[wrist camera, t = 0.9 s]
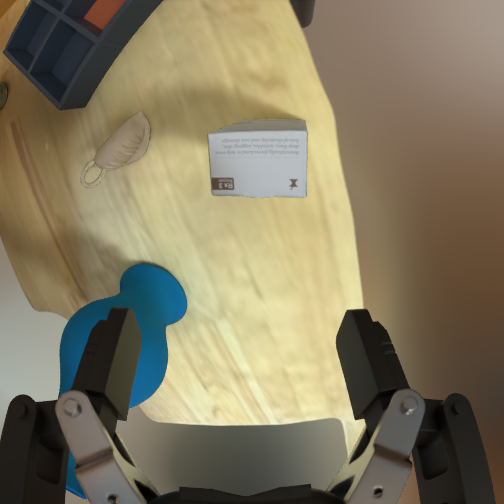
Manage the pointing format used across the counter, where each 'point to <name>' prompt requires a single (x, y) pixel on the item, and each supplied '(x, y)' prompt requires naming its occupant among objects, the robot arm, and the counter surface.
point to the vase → (151, 327)
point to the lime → (2, 94)
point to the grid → (73, 44)
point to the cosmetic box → (259, 159)
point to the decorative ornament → (120, 147)
